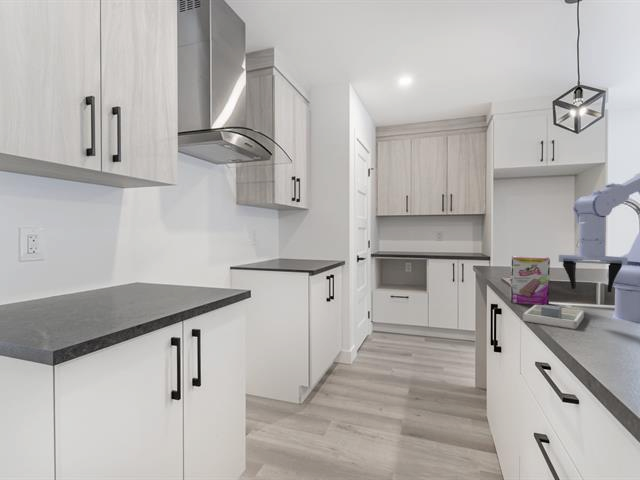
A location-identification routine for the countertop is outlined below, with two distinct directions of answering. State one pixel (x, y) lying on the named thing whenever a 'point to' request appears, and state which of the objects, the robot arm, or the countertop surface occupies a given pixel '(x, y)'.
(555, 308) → the slate block
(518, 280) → the candy bar box
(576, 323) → the two-bin tray
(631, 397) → the countertop surface
